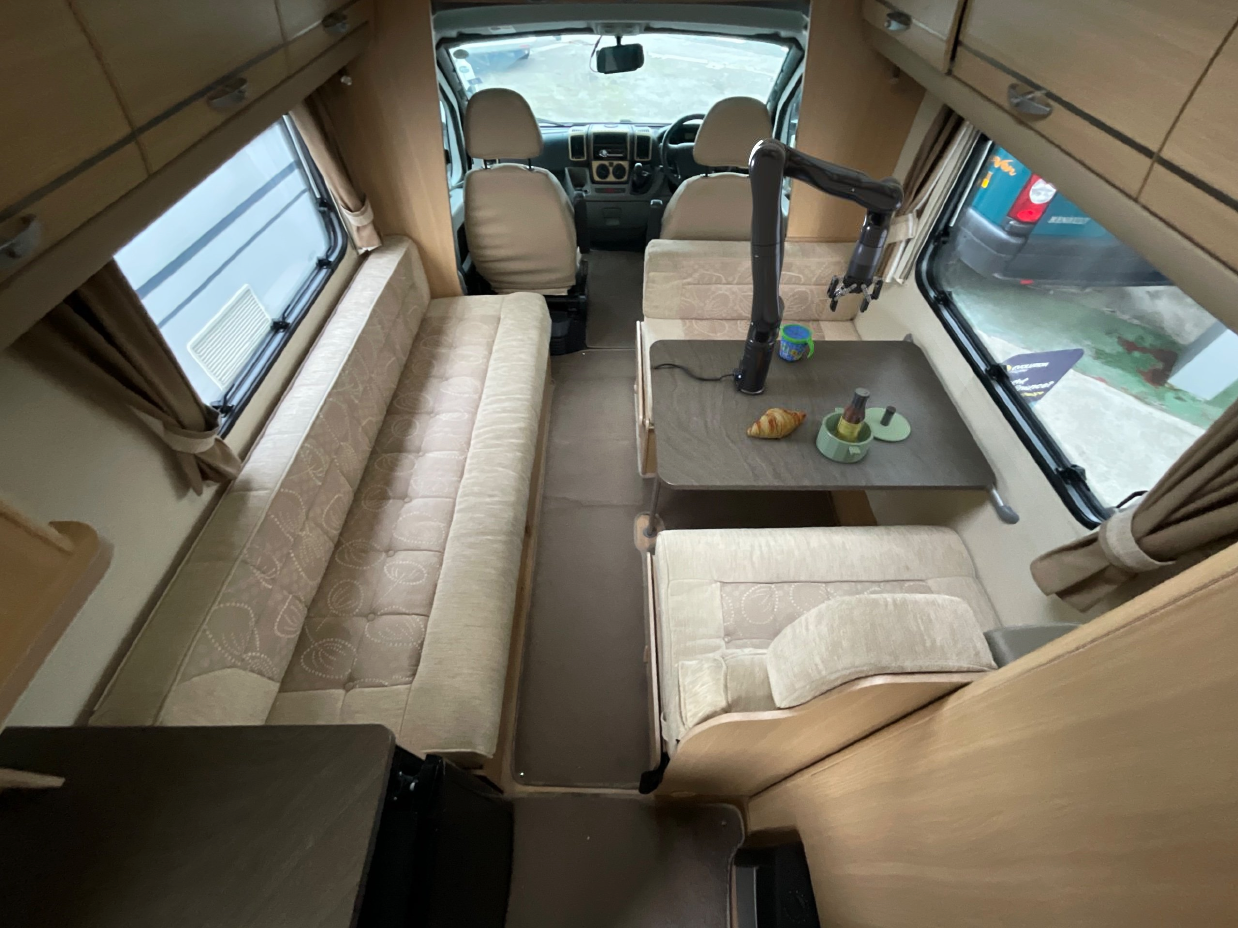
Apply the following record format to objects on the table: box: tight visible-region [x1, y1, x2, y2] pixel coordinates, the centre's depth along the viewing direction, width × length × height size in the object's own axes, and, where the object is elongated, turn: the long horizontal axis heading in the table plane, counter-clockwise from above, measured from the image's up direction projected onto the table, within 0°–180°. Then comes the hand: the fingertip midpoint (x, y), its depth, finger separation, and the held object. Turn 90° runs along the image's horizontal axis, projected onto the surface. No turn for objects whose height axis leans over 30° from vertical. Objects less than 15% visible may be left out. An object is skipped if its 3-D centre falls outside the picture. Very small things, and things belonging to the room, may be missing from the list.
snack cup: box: [777, 323, 815, 362], centre depth 200 cm, size 16×10×10 cm
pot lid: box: [865, 405, 911, 442], centre depth 175 cm, size 16×16×7 cm
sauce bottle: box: [834, 387, 871, 443], centre depth 163 cm, size 7×6×20 cm
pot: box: [815, 407, 874, 464], centre depth 168 cm, size 15×20×8 cm
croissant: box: [746, 407, 807, 439], centre depth 173 cm, size 21×10×8 cm
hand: (846, 311), depth 164 cm, fingers open, 8 cm apart
